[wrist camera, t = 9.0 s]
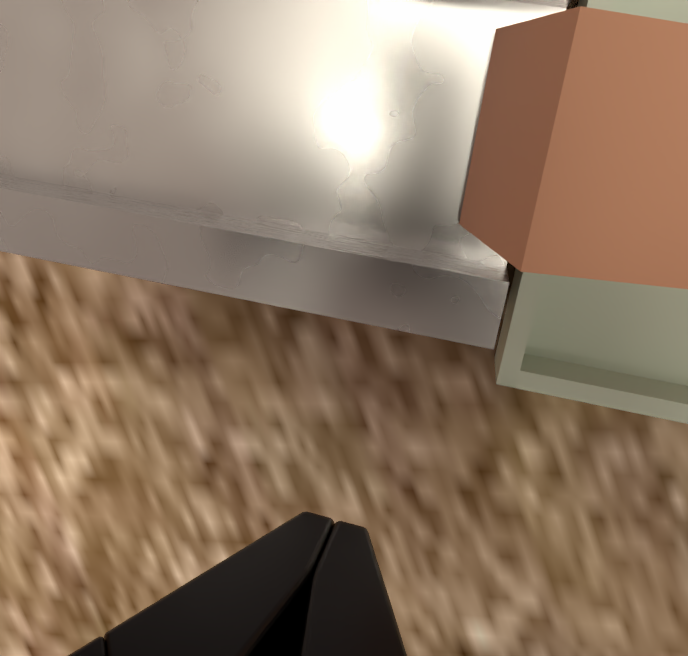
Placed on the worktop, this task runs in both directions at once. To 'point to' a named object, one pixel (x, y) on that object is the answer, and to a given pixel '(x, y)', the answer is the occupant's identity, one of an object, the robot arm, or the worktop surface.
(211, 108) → the channel
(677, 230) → the reddish-brown angular block
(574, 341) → the tray
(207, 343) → the worktop surface
